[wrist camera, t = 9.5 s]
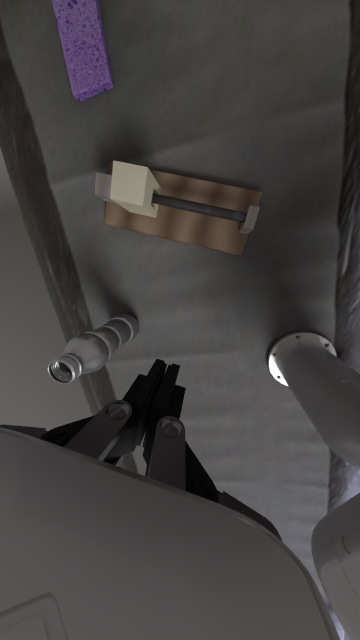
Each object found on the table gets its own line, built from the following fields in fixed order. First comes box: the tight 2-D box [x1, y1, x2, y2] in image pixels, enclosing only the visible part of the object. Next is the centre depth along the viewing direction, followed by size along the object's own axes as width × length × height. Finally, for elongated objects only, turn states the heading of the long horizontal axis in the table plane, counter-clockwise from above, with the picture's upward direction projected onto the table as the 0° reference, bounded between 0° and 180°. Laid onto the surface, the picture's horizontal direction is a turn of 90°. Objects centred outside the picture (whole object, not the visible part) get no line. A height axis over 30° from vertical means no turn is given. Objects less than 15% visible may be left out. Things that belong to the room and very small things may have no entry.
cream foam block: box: [110, 160, 161, 218], centre depth 28 cm, size 5×5×7 cm
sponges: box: [52, 0, 114, 101], centre depth 28 cm, size 7×13×2 cm, turn 8°
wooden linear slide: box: [95, 162, 262, 256], centre depth 30 cm, size 27×10×6 cm, turn 77°
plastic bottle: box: [48, 314, 139, 384], centre depth 32 cm, size 6×7×20 cm
